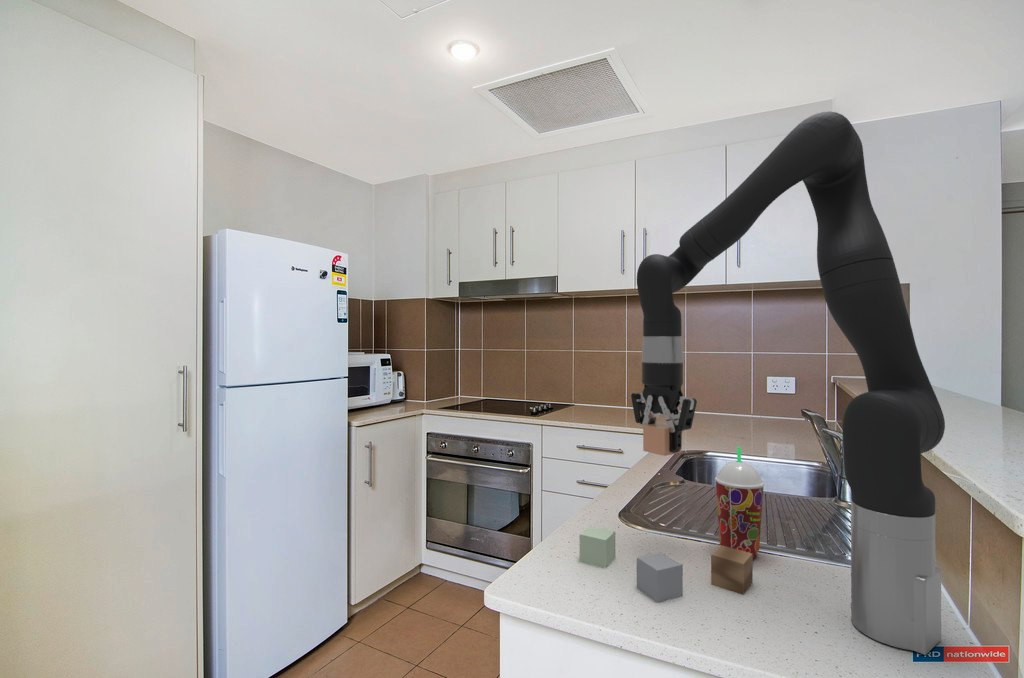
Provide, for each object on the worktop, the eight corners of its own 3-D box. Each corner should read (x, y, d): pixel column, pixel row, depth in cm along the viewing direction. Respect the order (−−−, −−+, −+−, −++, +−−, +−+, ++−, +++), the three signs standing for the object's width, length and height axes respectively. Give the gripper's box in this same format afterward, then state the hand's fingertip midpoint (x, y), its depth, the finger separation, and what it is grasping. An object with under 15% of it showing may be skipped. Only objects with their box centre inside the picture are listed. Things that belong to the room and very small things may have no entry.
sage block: (615, 557, 91) (615, 530, 91) (605, 568, 87) (605, 540, 87) (590, 551, 94) (590, 525, 94) (579, 561, 90) (579, 534, 90)
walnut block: (752, 583, 82) (752, 553, 82) (743, 595, 78) (743, 563, 78) (721, 574, 85) (721, 545, 85) (711, 585, 81) (711, 554, 81)
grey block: (682, 596, 77) (682, 564, 78) (657, 603, 75) (657, 570, 75) (661, 582, 82) (661, 552, 82) (636, 588, 80) (636, 557, 80)
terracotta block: (681, 452, 94) (681, 426, 94) (664, 455, 91) (664, 428, 91) (660, 447, 98) (660, 422, 98) (643, 450, 95) (643, 424, 95)
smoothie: (758, 567, 87) (758, 454, 87) (709, 554, 92) (709, 447, 92) (767, 551, 94) (767, 446, 94) (721, 540, 99) (721, 440, 99)
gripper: (707, 361, 91) (707, 454, 91) (646, 358, 102) (646, 440, 102) (681, 362, 86) (681, 459, 86) (620, 359, 98) (620, 445, 98)
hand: (662, 448), depth 94 cm, fingers closed on terracotta block, 5 cm apart
